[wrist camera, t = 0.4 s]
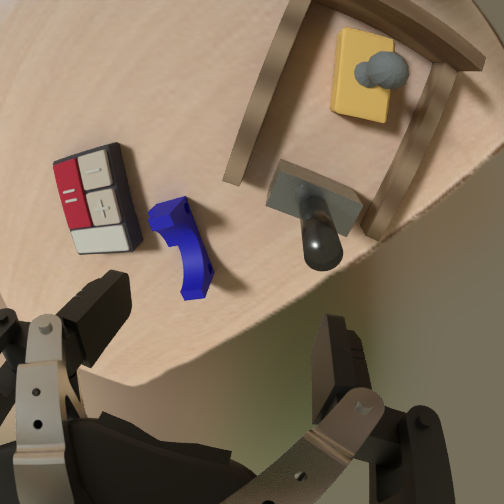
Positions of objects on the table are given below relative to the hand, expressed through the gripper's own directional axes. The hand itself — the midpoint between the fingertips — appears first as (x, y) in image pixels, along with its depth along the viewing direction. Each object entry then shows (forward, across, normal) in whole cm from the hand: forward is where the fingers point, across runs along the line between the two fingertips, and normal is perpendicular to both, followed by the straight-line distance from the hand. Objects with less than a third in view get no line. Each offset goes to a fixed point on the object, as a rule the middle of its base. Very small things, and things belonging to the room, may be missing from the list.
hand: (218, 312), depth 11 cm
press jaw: (+25, -5, 0) cm, 26 cm away
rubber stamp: (+25, -8, -15) cm, 30 cm away
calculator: (+26, +24, +5) cm, 35 cm away
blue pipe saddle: (+26, +10, +9) cm, 30 cm away
